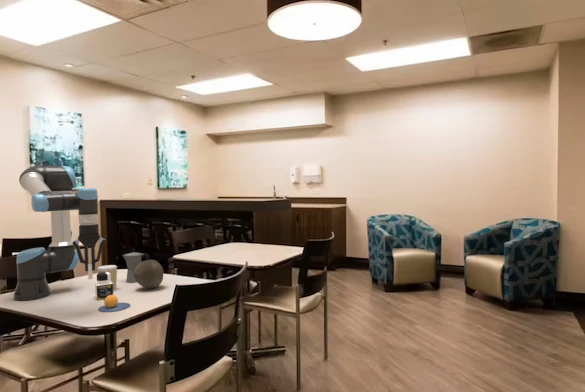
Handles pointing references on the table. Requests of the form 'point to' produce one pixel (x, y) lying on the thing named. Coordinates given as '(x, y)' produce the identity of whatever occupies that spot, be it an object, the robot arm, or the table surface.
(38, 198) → the robot arm
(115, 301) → the ball
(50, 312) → the table surface
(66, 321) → the table surface
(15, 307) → the table surface
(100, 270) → the coffee cup
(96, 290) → the medicine bottle
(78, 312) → the table surface
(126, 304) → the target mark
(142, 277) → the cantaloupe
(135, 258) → the coffeepot
